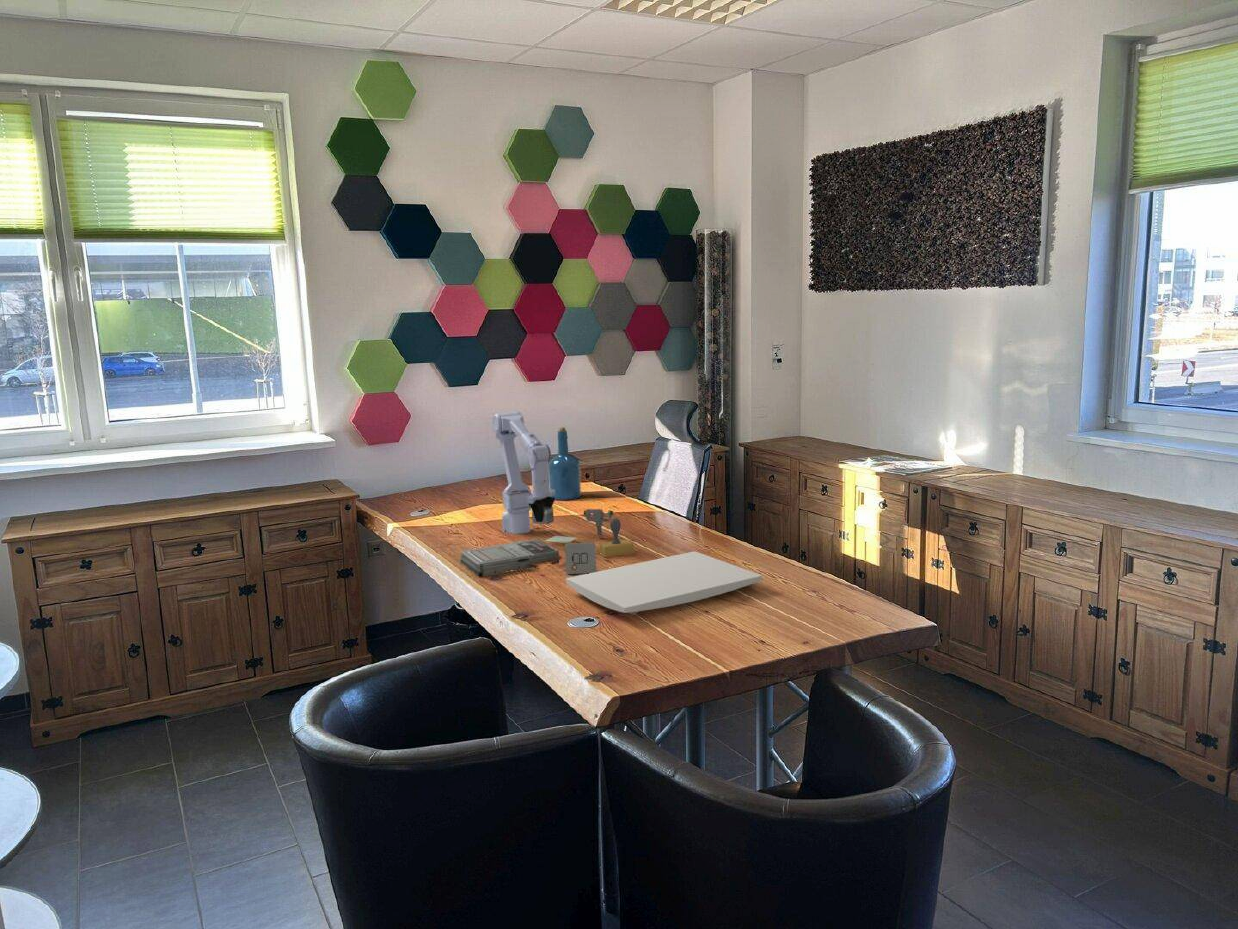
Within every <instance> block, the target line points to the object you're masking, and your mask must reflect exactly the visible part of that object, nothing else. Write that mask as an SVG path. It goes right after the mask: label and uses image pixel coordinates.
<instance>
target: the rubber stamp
mask: <svg viewBox="0 0 1238 929" xmlns="http://www.w3.org/2000/svg"><path fill="white" fill-rule="evenodd" d="M609 527H610V529H611V530H610V531H611V532H612V534H613V540H612V541H611V540H610V541H605V542H603V541H602V542H599V544H598V545H599V554H600V553H601V554H602V555H603V556H604V557H603V556H602V555H601V554H600V555H601V556H602V557H603V558H605V557H606V558H612V557H613V556H614V557H620V555H621V556H627V555H626V554H629V555H634V554H633V553H634V543H633V542H632V541H630V540H628V539H621V540H620V539H619V538H618V537H619V533H620V530H621V527H622V526H621V521H620V519H619V518H617V517H615V518H611V519H610V521H609Z"/></svg>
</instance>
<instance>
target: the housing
mask: <svg viewBox="0 0 1238 929" xmlns="http://www.w3.org/2000/svg"><path fill="white" fill-rule="evenodd" d="M531 520H532V522H531V523H532V524H538V525H539V524H540V525H550V524H551V523H554V507H553V506H552V507H544V508H543V519H542V522H536V520H535V516H534V513H533V511H532V510H531Z"/></svg>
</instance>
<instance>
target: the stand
mask: <svg viewBox="0 0 1238 929" xmlns="http://www.w3.org/2000/svg"><path fill="white" fill-rule="evenodd" d="M576 539H578V537H570V536H563V535H562V536H561V535H554V536H552V537H549V538H547V539H545V540H544V542H550V543H551V542H553V543H562V544H569V543H571V542H573V541H574V540H575V541H576Z"/></svg>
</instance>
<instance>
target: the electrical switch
mask: <svg viewBox="0 0 1238 929" xmlns="http://www.w3.org/2000/svg"><path fill="white" fill-rule="evenodd" d="M596 548H597V547H596V543H595V542H575V543H573V542H572V543H571V542H569V543H565V545H564V555H565V556H564V557H565V560H564V561H565V573H566V575H584V574H587V573H594V572H597V557H596V555H597V554H596V553H597V551H596ZM574 567H575V569H574Z"/></svg>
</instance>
